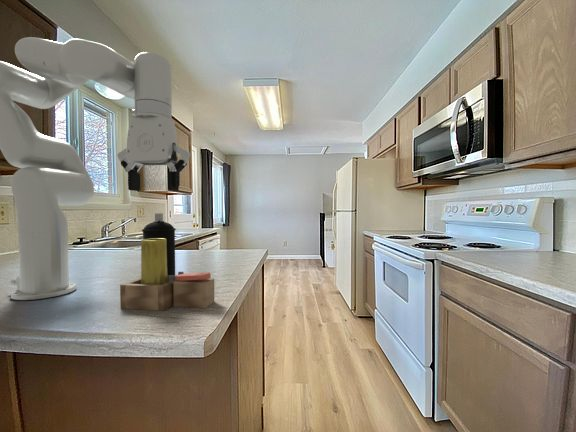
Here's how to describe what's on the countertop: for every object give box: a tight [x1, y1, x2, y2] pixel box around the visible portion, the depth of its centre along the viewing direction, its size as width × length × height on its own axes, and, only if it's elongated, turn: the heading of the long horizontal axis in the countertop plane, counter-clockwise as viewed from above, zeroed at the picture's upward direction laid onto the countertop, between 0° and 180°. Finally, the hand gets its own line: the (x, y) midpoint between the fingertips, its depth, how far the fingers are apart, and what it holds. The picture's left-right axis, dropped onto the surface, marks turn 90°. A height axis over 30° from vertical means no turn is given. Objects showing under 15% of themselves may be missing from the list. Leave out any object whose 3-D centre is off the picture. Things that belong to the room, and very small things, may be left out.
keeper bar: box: [174, 271, 212, 281], centre depth 64 cm, size 8×3×1 cm, turn 80°
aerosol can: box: [141, 212, 176, 275], centre depth 77 cm, size 8×8×20 cm
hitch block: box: [119, 271, 215, 312], centre depth 65 cm, size 18×10×7 cm, turn 81°
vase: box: [140, 238, 168, 285], centre depth 66 cm, size 6×6×14 cm
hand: (153, 190), depth 65 cm, fingers open, 9 cm apart
